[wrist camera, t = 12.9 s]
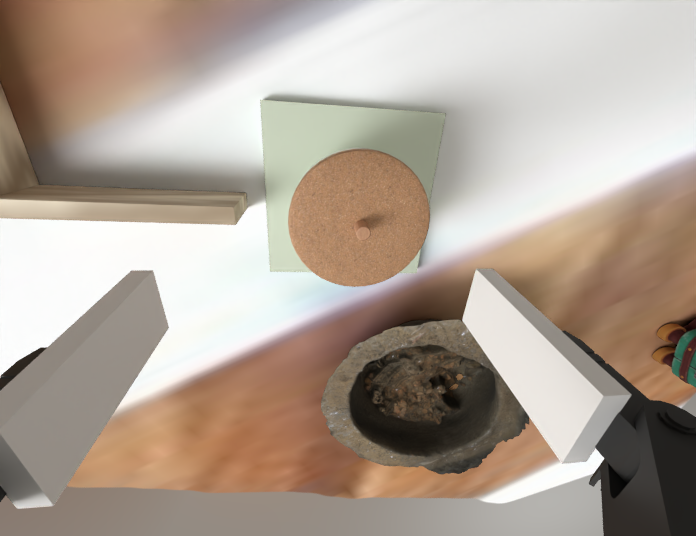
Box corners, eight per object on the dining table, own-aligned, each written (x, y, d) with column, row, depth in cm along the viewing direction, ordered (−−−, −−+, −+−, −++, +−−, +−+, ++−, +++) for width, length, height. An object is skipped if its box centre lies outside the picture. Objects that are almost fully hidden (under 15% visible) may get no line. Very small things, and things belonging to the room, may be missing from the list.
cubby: (-93, -95, 20) (-212, -155, 15) (224, -55, 22) (202, -97, 17) (27, 200, 28) (-27, 217, 24) (247, 208, 30) (235, 224, 26)
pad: (262, 99, 26) (260, 99, 25) (441, 113, 28) (445, 113, 27) (271, 267, 34) (270, 271, 33) (413, 269, 35) (416, 273, 34)
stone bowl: (526, 376, 45) (567, 438, 37) (377, 435, 51) (385, 499, 43) (466, 249, 34) (506, 299, 26) (285, 342, 40) (273, 406, 32)
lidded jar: (404, 134, 28) (442, 144, 19) (404, 243, 33) (434, 289, 24) (284, 146, 27) (271, 161, 19) (303, 255, 32) (299, 306, 24)
